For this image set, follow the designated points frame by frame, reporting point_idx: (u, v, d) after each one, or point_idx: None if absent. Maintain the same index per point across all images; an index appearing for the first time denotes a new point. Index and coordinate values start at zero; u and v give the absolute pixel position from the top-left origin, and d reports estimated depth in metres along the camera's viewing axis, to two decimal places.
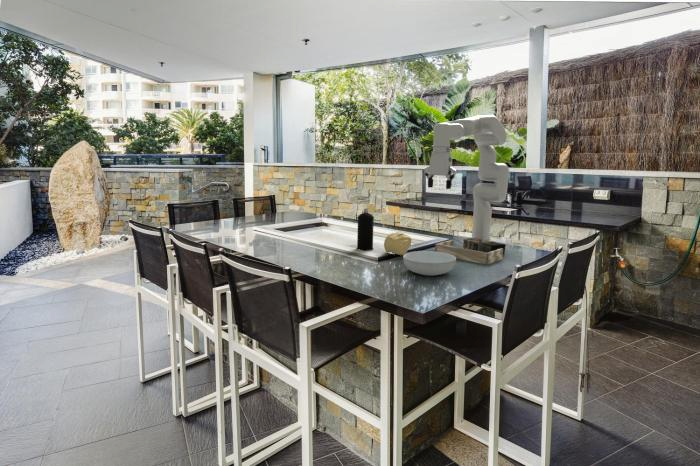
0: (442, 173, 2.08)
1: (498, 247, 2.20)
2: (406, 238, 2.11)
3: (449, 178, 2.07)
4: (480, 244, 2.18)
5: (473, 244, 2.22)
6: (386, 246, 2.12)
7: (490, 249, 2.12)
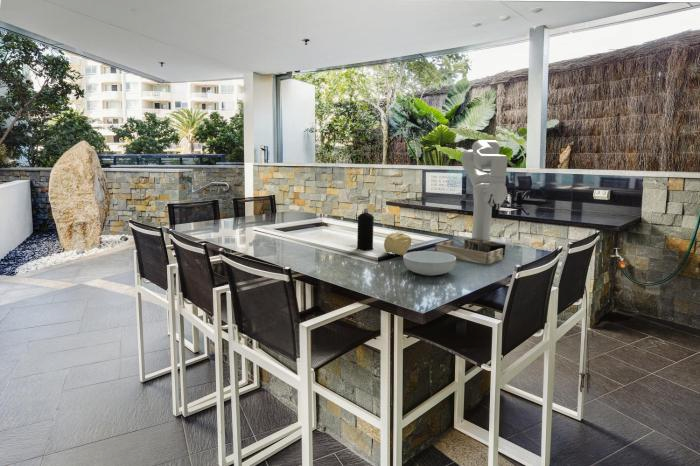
0: (502, 200, 2.26)
1: (498, 248, 2.19)
2: (406, 238, 2.11)
3: (499, 207, 2.27)
4: (480, 244, 2.17)
5: (473, 244, 2.21)
6: (386, 246, 2.12)
7: (489, 249, 2.12)
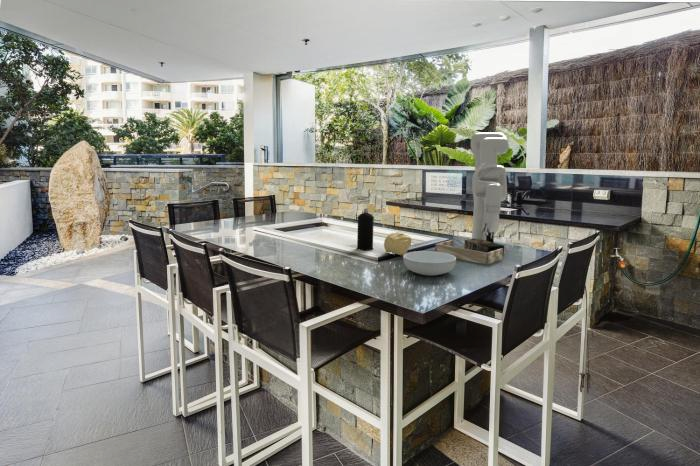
0: (496, 229, 2.26)
1: (498, 248, 2.18)
2: (406, 238, 2.11)
3: None
4: (478, 245, 2.17)
5: (472, 244, 2.21)
6: (386, 246, 2.12)
7: (487, 250, 2.11)
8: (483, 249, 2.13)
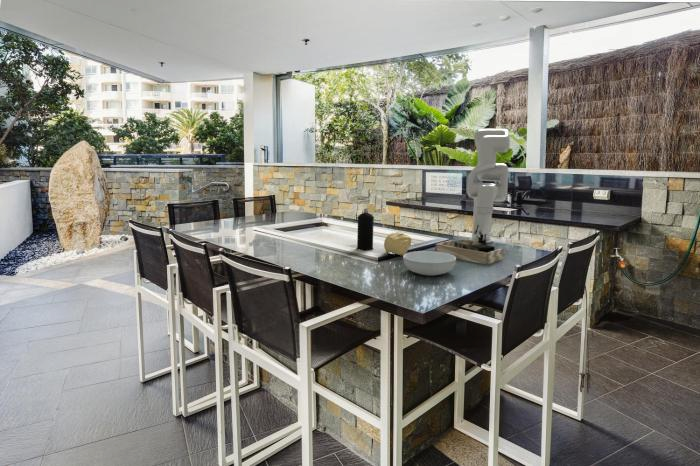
0: (489, 231, 2.20)
1: (488, 250, 2.14)
2: (406, 238, 2.11)
3: None
4: (468, 246, 2.12)
5: (462, 246, 2.17)
6: (386, 246, 2.12)
7: None
8: None
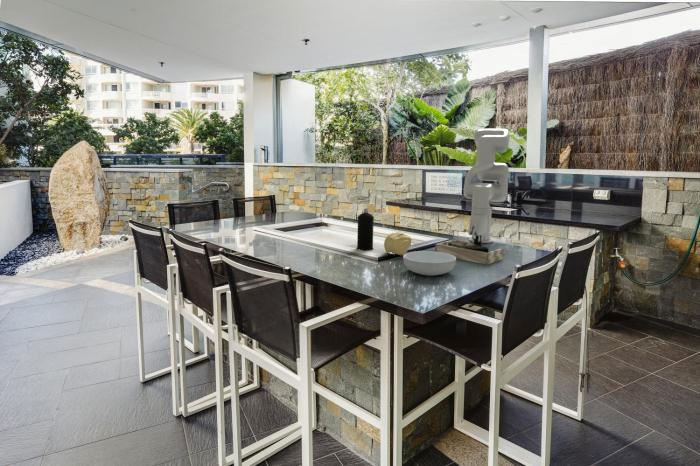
0: (484, 232, 2.17)
1: (482, 251, 2.11)
2: (406, 238, 2.11)
3: (481, 239, 2.18)
4: (462, 247, 2.10)
5: None
6: (386, 246, 2.12)
7: None
8: None
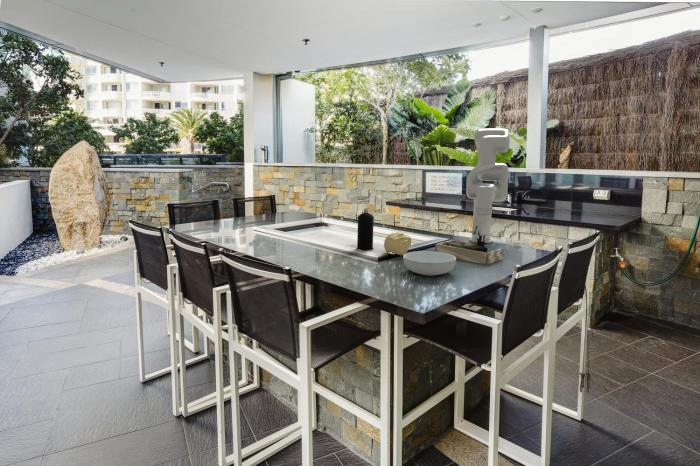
0: (488, 232, 2.20)
1: (481, 251, 2.12)
2: (406, 238, 2.11)
3: None
4: (461, 247, 2.10)
5: None
6: (386, 246, 2.12)
7: None
8: None
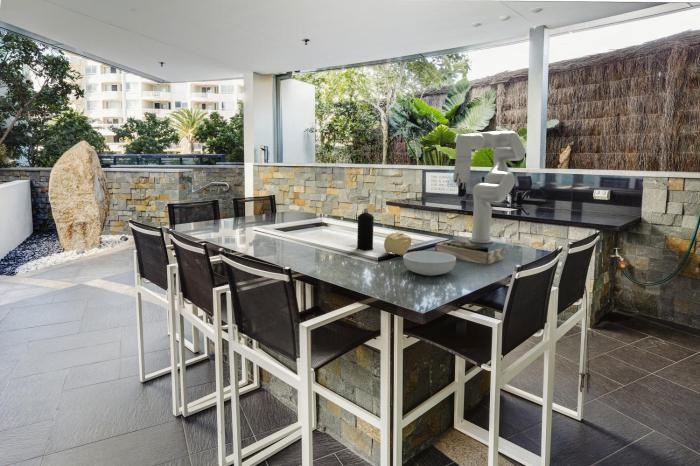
0: (468, 179, 2.30)
1: (481, 251, 2.11)
2: (406, 238, 2.11)
3: (465, 186, 2.30)
4: (462, 247, 2.10)
5: None
6: (386, 246, 2.12)
7: None
8: None
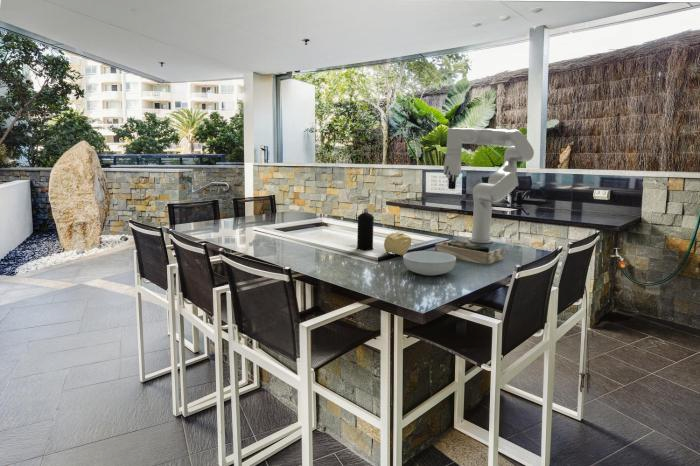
0: (458, 172, 2.35)
1: (482, 251, 2.11)
2: (406, 238, 2.11)
3: (455, 179, 2.35)
4: (463, 247, 2.09)
5: None
6: (386, 246, 2.12)
7: None
8: None
